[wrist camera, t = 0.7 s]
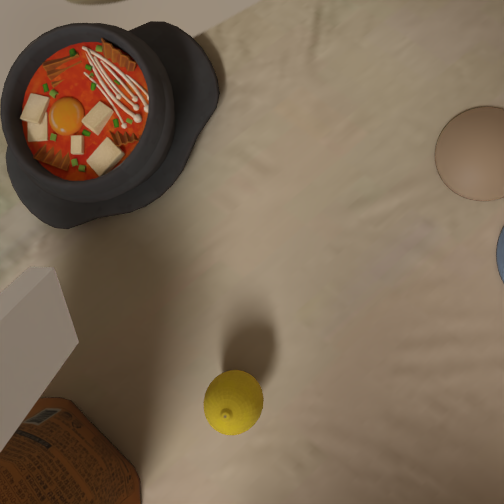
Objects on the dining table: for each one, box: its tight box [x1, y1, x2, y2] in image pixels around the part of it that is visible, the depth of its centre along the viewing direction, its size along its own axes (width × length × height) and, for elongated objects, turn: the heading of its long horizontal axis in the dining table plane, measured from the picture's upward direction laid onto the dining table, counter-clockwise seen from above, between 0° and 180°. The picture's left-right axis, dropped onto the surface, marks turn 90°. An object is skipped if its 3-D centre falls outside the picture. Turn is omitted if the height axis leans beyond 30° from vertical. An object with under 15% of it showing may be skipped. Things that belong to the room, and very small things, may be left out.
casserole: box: [1, 22, 219, 229], centre depth 43 cm, size 25×19×8 cm
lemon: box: [204, 370, 263, 435], centre depth 41 cm, size 6×6×8 cm
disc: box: [435, 107, 504, 201], centre depth 42 cm, size 9×9×1 cm
